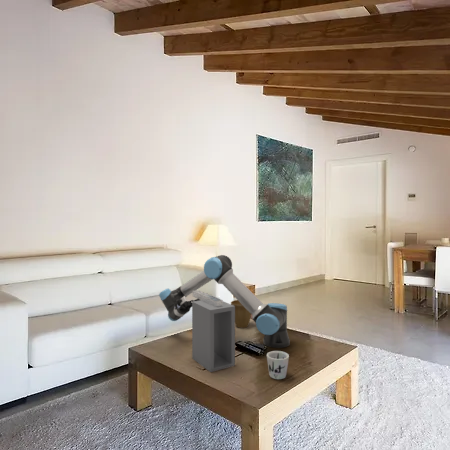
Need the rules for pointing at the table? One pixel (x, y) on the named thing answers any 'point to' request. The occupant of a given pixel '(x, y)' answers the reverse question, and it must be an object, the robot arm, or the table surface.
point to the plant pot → (241, 314)
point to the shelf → (213, 335)
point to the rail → (208, 298)
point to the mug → (277, 364)
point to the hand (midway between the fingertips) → (196, 296)
